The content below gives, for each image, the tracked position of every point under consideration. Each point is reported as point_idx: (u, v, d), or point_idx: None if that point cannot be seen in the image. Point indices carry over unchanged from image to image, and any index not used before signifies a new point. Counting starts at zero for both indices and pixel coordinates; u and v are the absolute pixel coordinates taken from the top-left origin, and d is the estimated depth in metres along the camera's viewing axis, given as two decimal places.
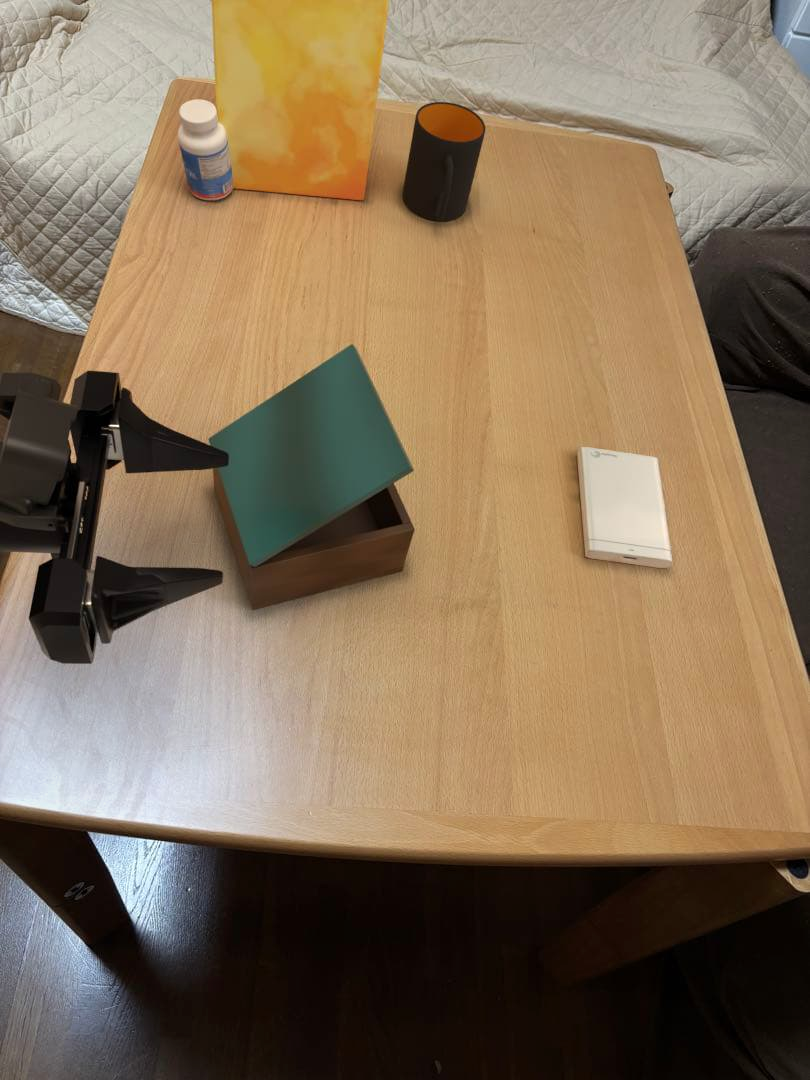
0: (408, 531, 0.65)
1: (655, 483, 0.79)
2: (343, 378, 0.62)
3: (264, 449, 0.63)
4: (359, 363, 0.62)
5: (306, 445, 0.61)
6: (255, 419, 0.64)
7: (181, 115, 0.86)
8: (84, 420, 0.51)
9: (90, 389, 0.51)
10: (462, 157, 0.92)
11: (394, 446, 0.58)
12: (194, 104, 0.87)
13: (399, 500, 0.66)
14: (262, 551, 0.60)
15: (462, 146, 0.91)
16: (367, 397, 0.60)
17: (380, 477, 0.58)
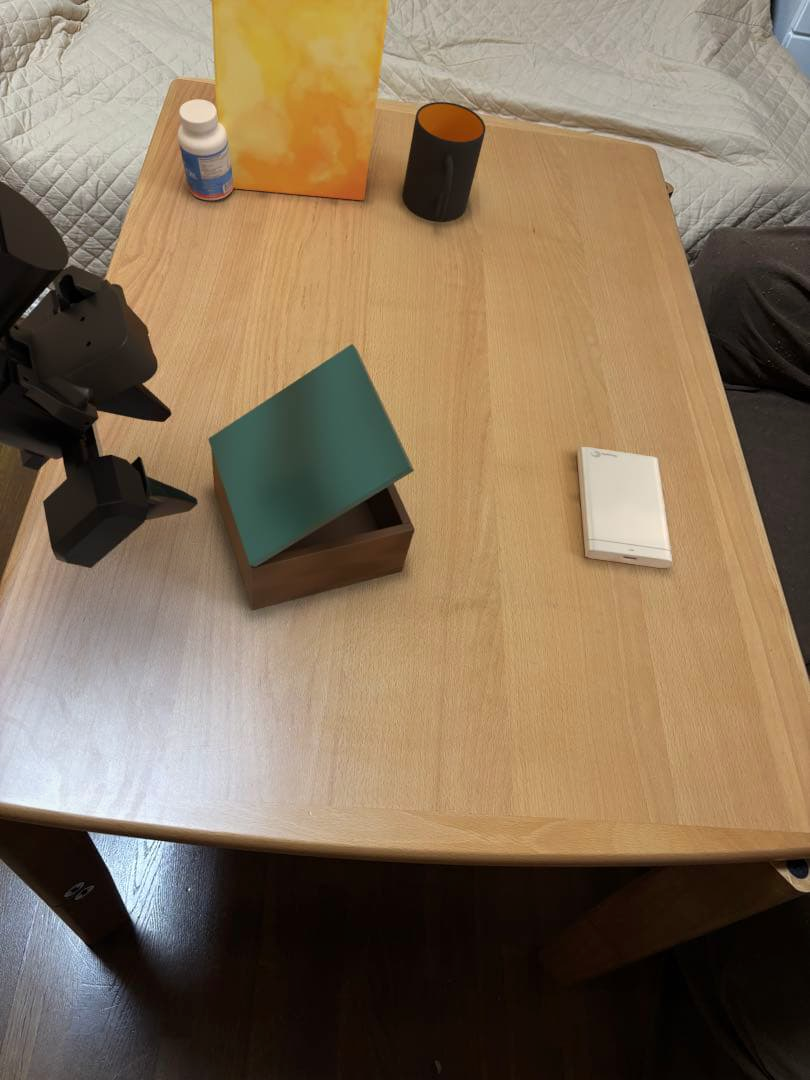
0: (408, 531, 0.65)
1: (655, 483, 0.79)
2: (343, 378, 0.62)
3: (264, 449, 0.63)
4: (359, 363, 0.62)
5: (306, 445, 0.61)
6: (255, 419, 0.64)
7: (181, 115, 0.86)
8: None
9: None
10: (462, 157, 0.92)
11: (394, 446, 0.58)
12: (194, 104, 0.87)
13: (399, 500, 0.66)
14: (262, 551, 0.60)
15: (462, 146, 0.91)
16: (367, 397, 0.60)
17: (380, 477, 0.58)
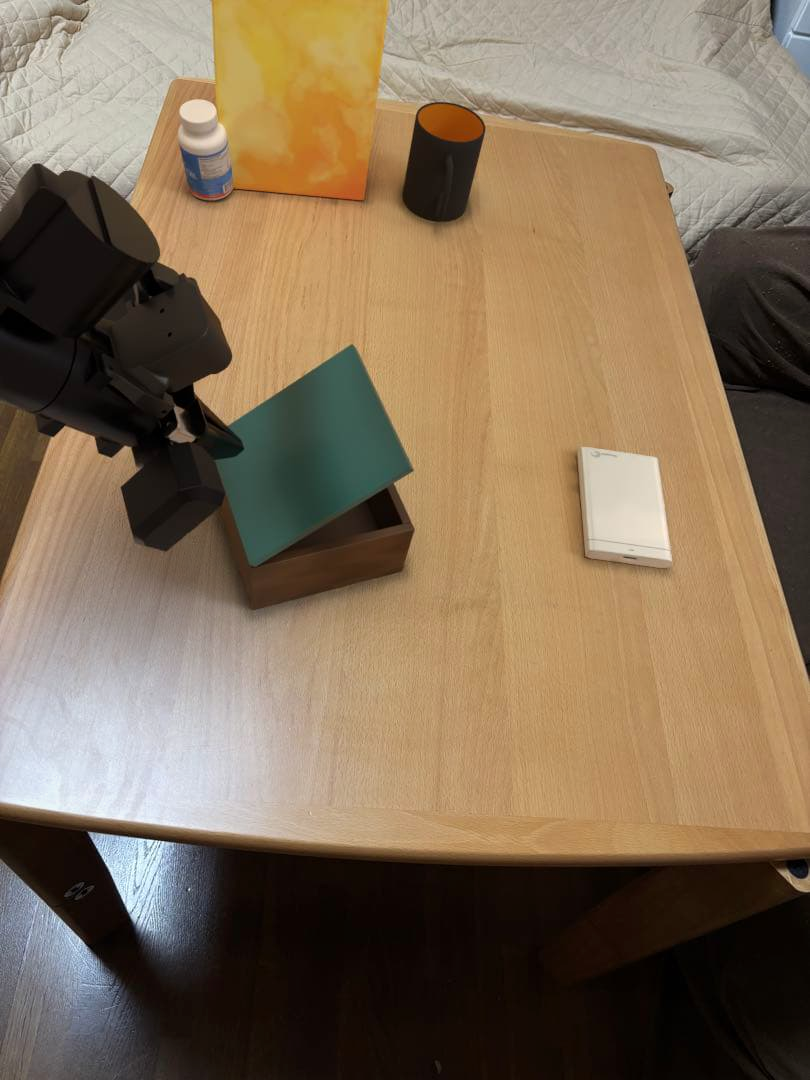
0: (408, 531, 0.65)
1: (655, 483, 0.79)
2: (343, 378, 0.62)
3: (264, 449, 0.63)
4: (359, 363, 0.62)
5: (306, 445, 0.61)
6: (255, 419, 0.64)
7: (181, 115, 0.86)
8: None
9: None
10: (462, 157, 0.92)
11: (394, 446, 0.58)
12: (194, 104, 0.87)
13: (399, 500, 0.66)
14: (262, 551, 0.60)
15: (462, 146, 0.91)
16: (367, 397, 0.60)
17: (380, 477, 0.58)
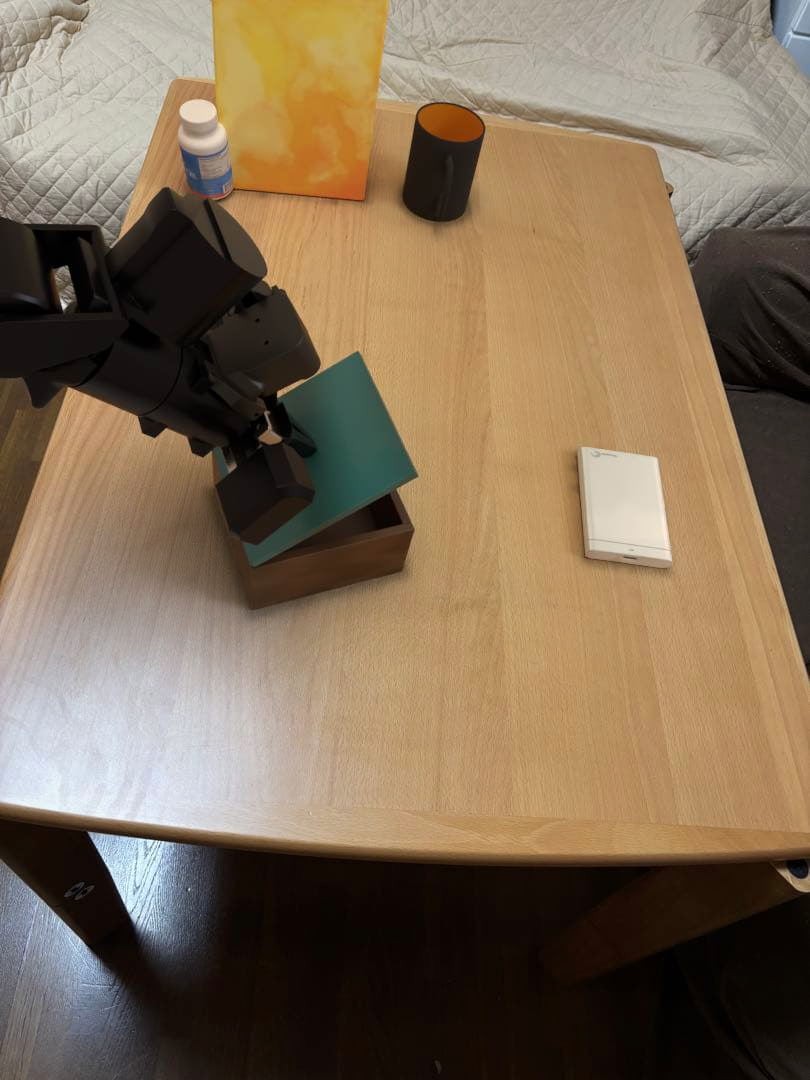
0: (408, 531, 0.65)
1: (655, 483, 0.79)
2: (349, 383, 0.63)
3: None
4: (364, 370, 0.63)
5: None
6: None
7: (181, 115, 0.86)
8: None
9: None
10: (462, 157, 0.92)
11: (399, 452, 0.59)
12: (194, 104, 0.87)
13: (399, 500, 0.66)
14: (263, 551, 0.60)
15: (462, 146, 0.91)
16: (372, 403, 0.61)
17: (385, 481, 0.58)
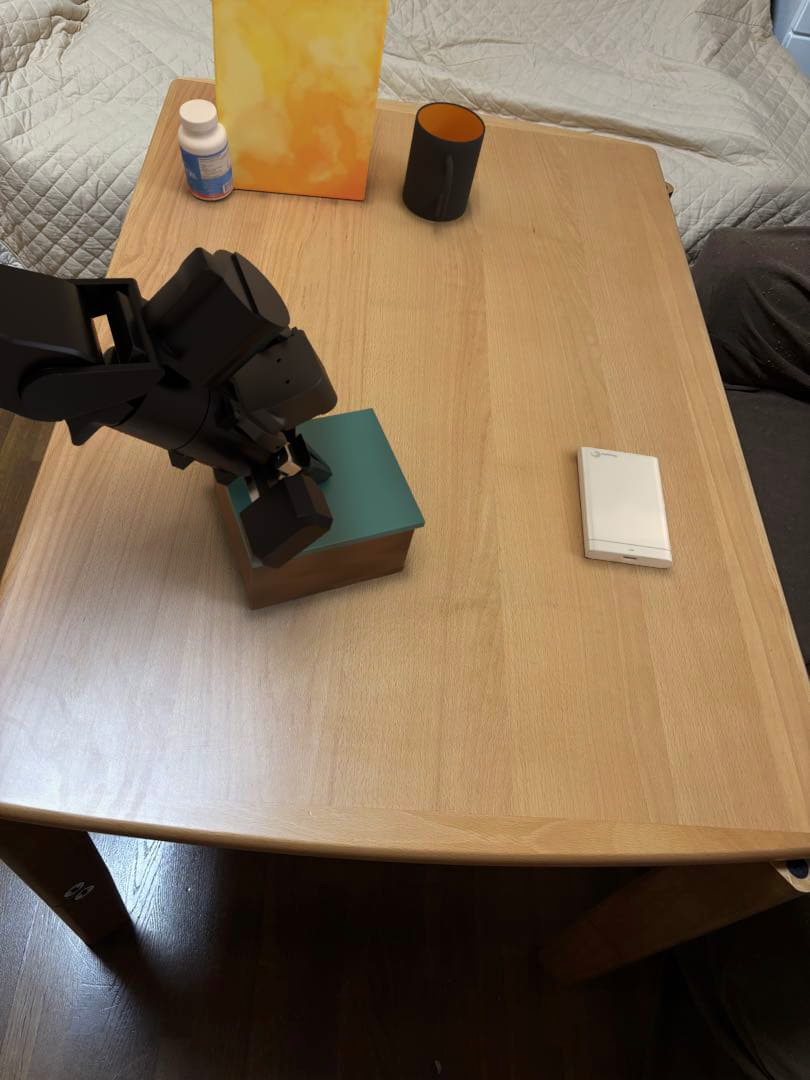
0: (408, 531, 0.65)
1: (655, 483, 0.79)
2: (363, 432, 0.69)
3: None
4: (378, 425, 0.69)
5: None
6: None
7: (181, 115, 0.86)
8: None
9: None
10: (462, 157, 0.92)
11: (411, 501, 0.65)
12: (194, 104, 0.87)
13: None
14: None
15: (462, 146, 0.91)
16: (386, 455, 0.68)
17: (397, 522, 0.64)
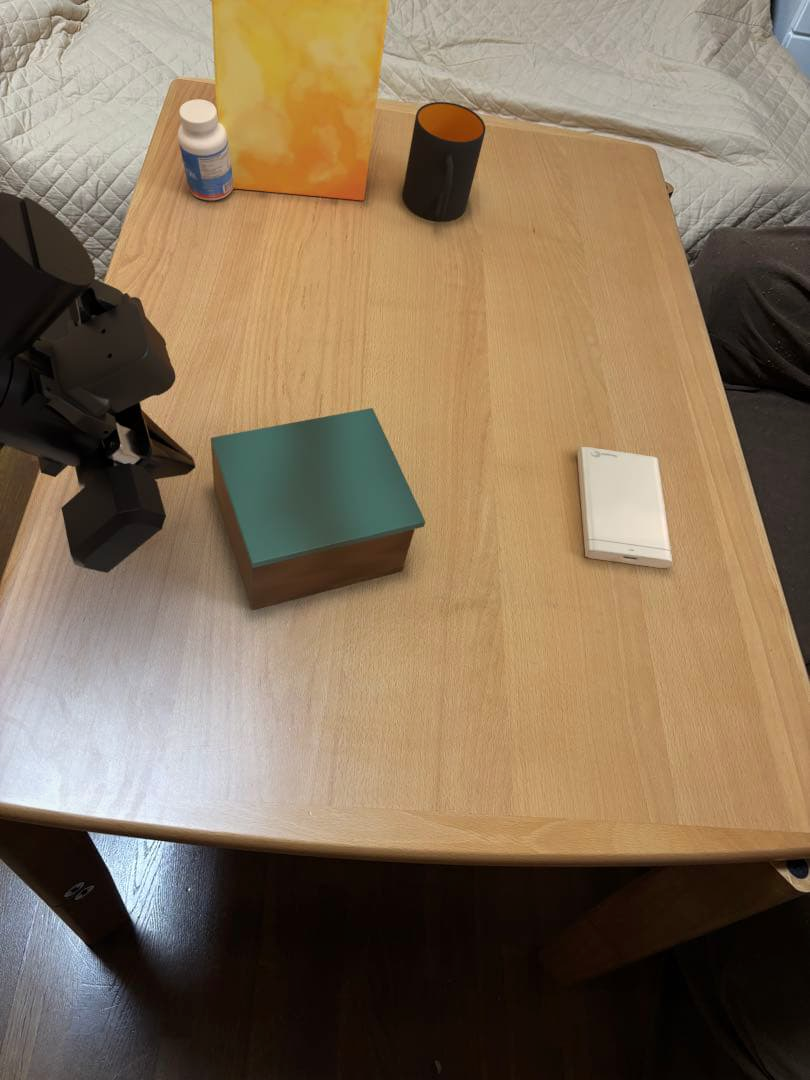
0: (408, 531, 0.65)
1: (655, 483, 0.79)
2: (363, 432, 0.69)
3: (276, 465, 0.65)
4: (378, 425, 0.69)
5: (322, 475, 0.65)
6: (267, 437, 0.67)
7: (181, 115, 0.86)
8: None
9: None
10: (462, 157, 0.92)
11: (411, 501, 0.65)
12: (194, 104, 0.87)
13: None
14: (268, 555, 0.61)
15: (462, 146, 0.91)
16: (386, 455, 0.68)
17: (397, 522, 0.64)
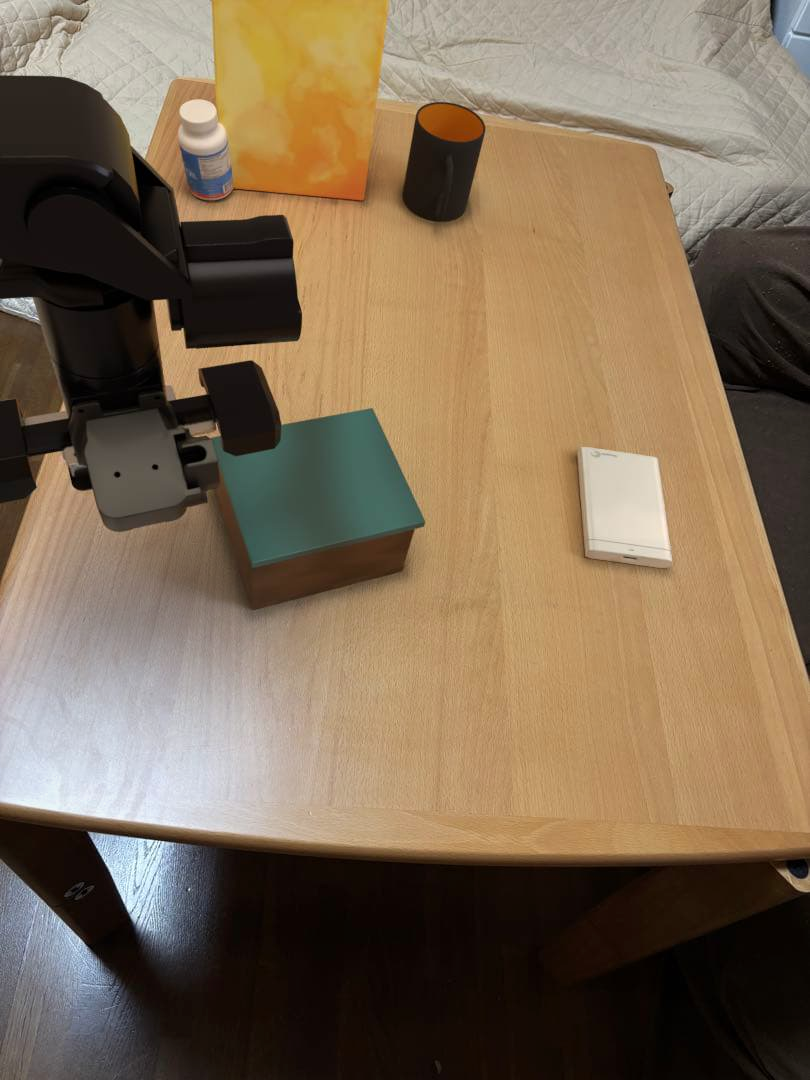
0: (408, 531, 0.65)
1: (655, 483, 0.79)
2: (363, 432, 0.69)
3: (276, 465, 0.65)
4: (378, 425, 0.69)
5: (322, 475, 0.65)
6: None
7: (181, 115, 0.86)
8: (218, 428, 0.49)
9: (250, 438, 0.50)
10: (462, 157, 0.92)
11: (411, 501, 0.65)
12: (194, 104, 0.87)
13: None
14: (268, 555, 0.61)
15: (462, 146, 0.91)
16: (386, 455, 0.68)
17: (397, 522, 0.64)
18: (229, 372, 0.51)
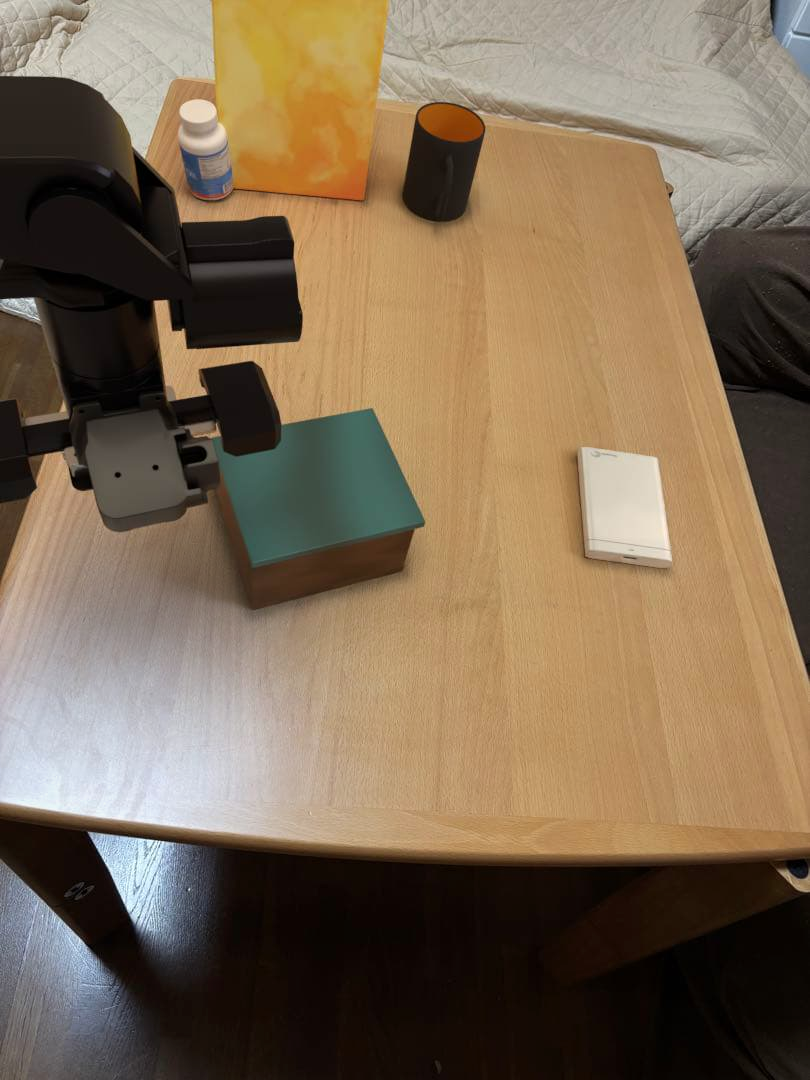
0: (408, 531, 0.65)
1: (655, 483, 0.79)
2: (363, 432, 0.69)
3: (276, 465, 0.65)
4: (378, 425, 0.69)
5: (322, 475, 0.65)
6: None
7: (181, 115, 0.86)
8: (218, 428, 0.49)
9: (250, 439, 0.50)
10: (462, 157, 0.92)
11: (411, 501, 0.65)
12: (194, 104, 0.87)
13: None
14: (268, 555, 0.61)
15: (462, 146, 0.91)
16: (386, 455, 0.68)
17: (397, 522, 0.64)
18: (229, 372, 0.51)
